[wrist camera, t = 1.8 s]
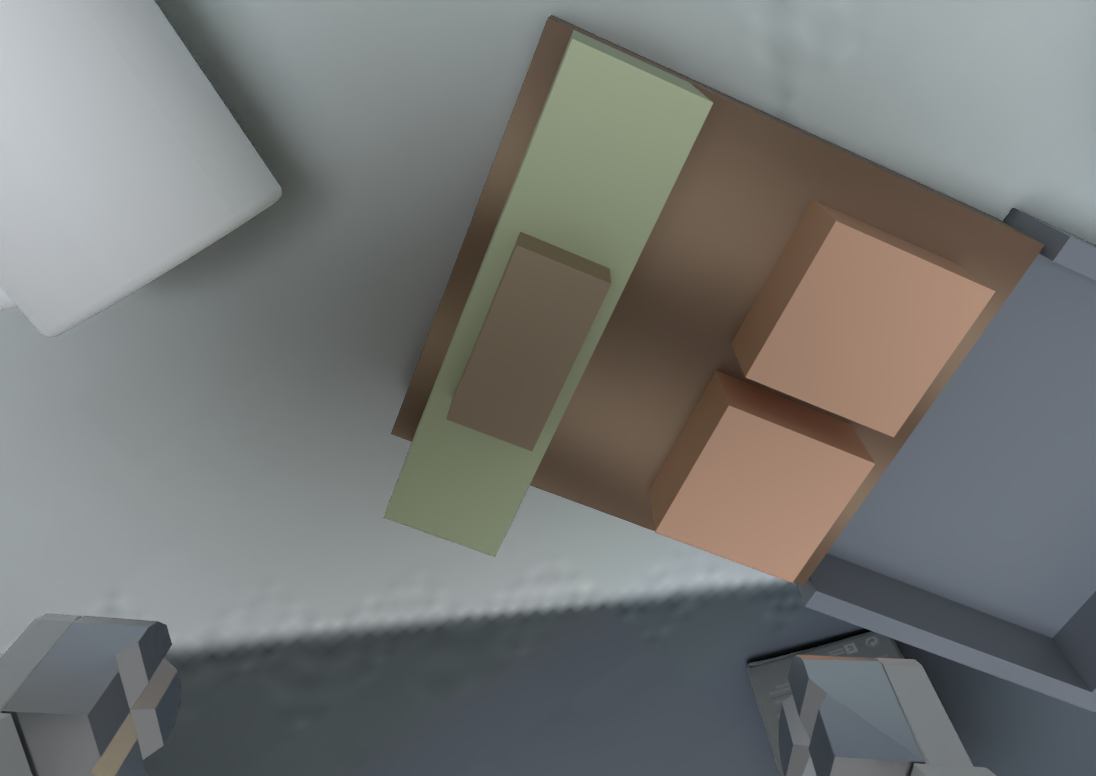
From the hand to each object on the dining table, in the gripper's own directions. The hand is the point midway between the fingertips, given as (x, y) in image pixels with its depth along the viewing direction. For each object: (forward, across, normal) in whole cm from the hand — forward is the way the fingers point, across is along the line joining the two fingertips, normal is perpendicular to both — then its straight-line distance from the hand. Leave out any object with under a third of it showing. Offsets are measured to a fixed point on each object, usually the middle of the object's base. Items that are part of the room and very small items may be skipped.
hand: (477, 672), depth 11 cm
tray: (+19, -19, +7) cm, 28 cm away
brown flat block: (+19, -5, +2) cm, 20 cm away
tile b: (+16, -9, 0) cm, 19 cm away
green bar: (+16, 0, 0) cm, 16 cm away
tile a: (+16, -7, +6) cm, 19 cm away
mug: (+20, +15, -4) cm, 25 cm away
